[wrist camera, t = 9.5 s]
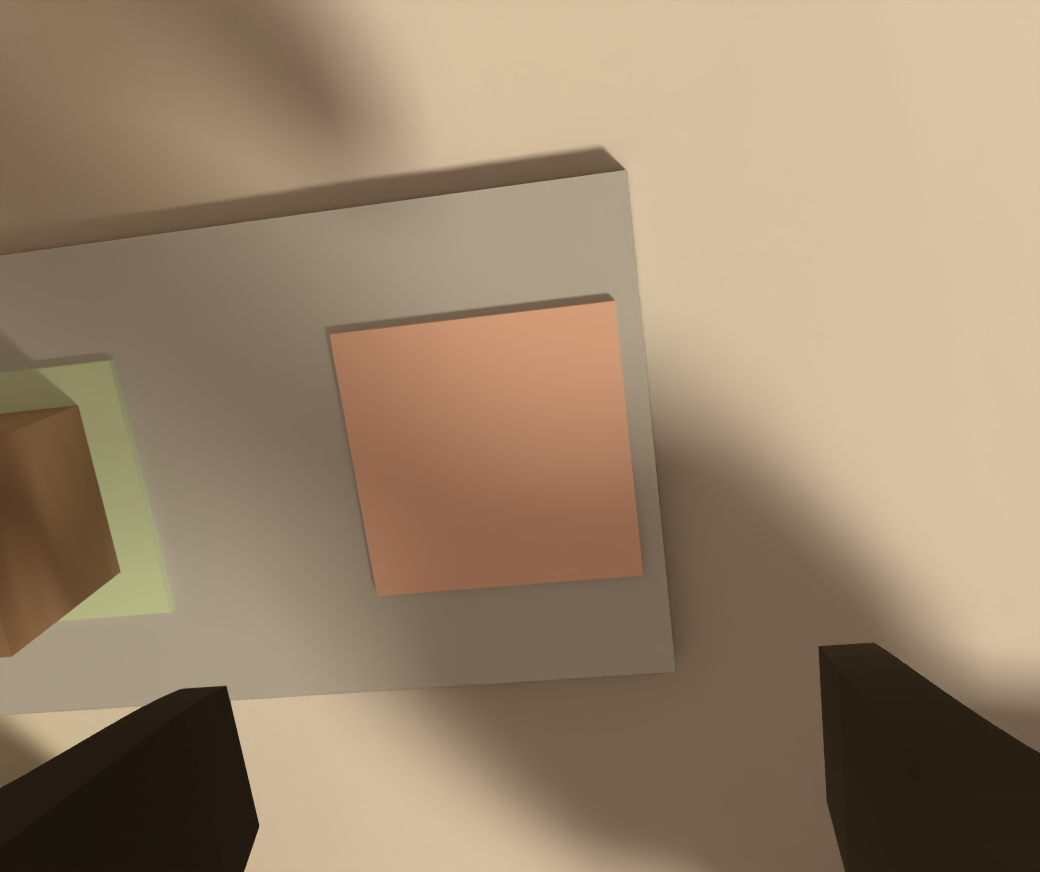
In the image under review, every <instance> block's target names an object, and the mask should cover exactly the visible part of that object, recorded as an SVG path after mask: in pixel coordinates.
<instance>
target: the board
mask: <svg viewBox="0 0 1040 872" xmlns="http://www.w3.org/2000/svg"><path fill="white" fill-rule="evenodd" d="M75 405H78V406H79V410H80V414H81V418H82V422H83V426H84V430H85V434H86V438H87V442H88V446H89V449H90V453H91V457H92V461H93V465H94V469H95V473H96V477H97V481H98V485H99V489H100V493H101V497H102V500H103V504H104V508H105V512H106V516H107V520H108V524H109V528H110V532H111V536H112V540H113V544H114V547H115V551H116V555H117V559H118V563H119V567H120V571H121V572H120V573H119V574H118V575H116V576H115V577H114V578H113V579H111V580H110V581H109V582H107V583H106V584H105V585H103V586H102V587H101V588H100V589H98V590H97V591H96V592H94V593H93V594H92V595H91V596H89V597H88V598H87V599H85V600H84V601H83V602H82V603H80V604H79V605H78V606H76V607H75V608H74V609H73V610H71V611H70V612H69V613H67V614H66V615H65V616H64V617H62V618H61V619H60V620H58V621H57V622H56V623H55V624H53V625H52V626H51V627H49V628H48V629H47V630H46V631H44V632H43V633H42V634H40V635H39V636H38V637H37V638H35V639H34V640H33V641H31V642H30V643H29V644H28V645H26V646H25V647H24V648H22V649H21V650H20V651H19V652H17V653H16V654H15V655H13V656H12V657H4V658H0V715H13V714H29V713H45V712H60V711H76V710H91V709H107V708H123V707H138V706H145V705H147V704H149V703H151V702H153V701H155V700H157V699H159V698H161V697H163V696H165V695H167V694H170V693H172V692H174V691H177V690H179V689H183V688H198V687H213V686H227V690H228V694H229V698H230V701H232V700H248V699H263V698H279V697H295V696H310V695H326V694H341V693H357V692H373V691H388V690H404V689H420V688H435V687H451V686H466V685H482V684H498V683H513V682H529V681H545V680H560V679H576V678H591V677H607V676H623V675H638V674H654V673H670V672H676V668H675V658H674V648H673V637H672V627H671V617H670V606H669V596H668V586H667V576H666V565H665V555H664V545H663V534H662V524H661V514H660V503H659V493H658V483H657V473H656V462H655V452H654V442H653V431H652V421H651V411H650V401H649V390H648V380H647V370H646V359H645V349H644V339H643V328H642V318H641V308H640V298H639V287H638V277H637V267H636V256H635V246H634V236H633V225H632V215H631V205H630V195H629V184H628V174H627V170H622V171H615V172H607V173H600V174H593V175H585V176H578V177H571V178H563V179H556V180H549V181H541V182H534V183H527V184H519V185H512V186H505V187H498V188H490V189H483V190H476V191H468V192H461V193H454V194H446V195H439V196H432V197H424V198H417V199H410V200H402V201H395V202H388V203H380V204H373V205H366V206H358V207H351V208H344V209H336V210H329V211H322V212H314V213H307V214H300V215H293V216H285V217H278V218H271V219H263V220H256V221H249V222H241V223H234V224H227V225H219V226H212V227H205V228H197V229H190V230H183V231H175V232H168V233H161V234H153V235H146V236H139V237H131V238H124V239H117V240H109V241H102V242H95V243H88V244H80V245H73V246H66V247H58V248H51V249H44V250H36V251H29V252H22V253H14V254H7V255H0V414H2V413H12V412H21V411H30V410H39V409H48V408H57V407H66V406H75Z"/></svg>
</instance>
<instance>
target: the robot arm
mask: <svg viewBox="0 0 1040 872" xmlns="http://www.w3.org/2000/svg"><path fill="white" fill-rule="evenodd" d="M819 664H820V683H821V702H822V720H823V739H824V757H825V776H826V795H827V803H828V807H829V811H830V815H831V819H832V823H833V827H834V831H835V835H836V839H837V842H838V846H839V850H840V854H841V857H842V861H843V865H844V868H845V872H1040V753H1039V752H1037V751H1035V750H1033V749H1032V748H1030V747H1028V746H1027V745H1025V744H1023V743H1022V742H1020V741H1019V740H1017V739H1015V738H1014V737H1012V736H1011V735H1009V734H1007V733H1006V732H1004V731H1003V730H1001V729H999V728H998V727H996V726H995V725H993V724H992V723H990V722H989V721H987V720H986V719H984V718H983V717H981V716H980V715H978V714H977V713H975V712H974V711H972V710H971V709H969V708H968V707H966V706H965V705H963V704H962V703H960V702H959V701H957V700H956V699H954V698H953V697H951V696H950V695H949V694H947V693H946V692H944V691H943V690H941V689H940V688H938V687H937V686H936V685H934V684H933V683H931V682H930V681H929V680H927V679H926V678H924V677H923V676H921V675H920V674H919V673H917V672H916V671H914V670H913V669H912V668H910V667H909V666H907V665H906V664H905V663H903V662H902V661H900V660H899V659H898V658H896V657H895V656H893V655H892V654H890V653H889V652H887V651H886V650H884V649H883V648H881V647H880V646H878V645H877V644H875V643H862V644H847V645H832V646H819ZM258 829H259V822H258V818H257V814H256V809H255V805H254V801H253V797H252V792H251V788H250V784H249V780H248V775H247V771H246V767H245V762H244V758H243V754H242V750H241V745H240V741H239V737H238V732H237V728H236V724H235V720H234V715H233V711H232V707H231V702H230V698H229V694H228V690H227V686H213V687H198V688H183V689H179V690H177V691H174V692H172V693H170V694H167V695H165V696H163V697H161V698H159V699H157V700H155V701H153V702H151V703H149V704H147V705H145V706H143V707H141V708H140V709H138V710H136V711H134V712H132V713H130V714H129V715H127V716H125V717H123V718H122V719H120V720H118V721H116V722H115V723H113V724H111V725H109V726H108V727H106V728H104V729H102V730H101V731H99V732H97V733H96V734H94V735H92V736H90V737H89V738H87V739H85V740H84V741H82V742H80V743H78V744H77V745H75V746H73V747H72V748H70V749H68V750H66V751H65V752H63V753H61V754H60V755H58V756H56V757H54V758H53V759H51V760H49V761H48V762H46V763H44V764H43V765H41V766H39V767H37V768H36V769H34V770H32V771H30V772H29V773H27V774H25V775H24V776H22V777H20V778H18V779H16V780H14V781H13V782H11V783H9V784H7V785H5V786H3V787H2V788H0V872H244V870H245V867H246V864H247V861H248V858H249V855H250V852H251V849H252V846H253V844H254V841H255V838H256V835H257V832H258Z"/></svg>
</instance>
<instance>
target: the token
mask: <svg viewBox="0 0 1040 872" xmlns="http://www.w3.org/2000/svg"><path fill="white" fill-rule="evenodd" d="M120 572H121V571H120V567H119V563H118V559H117V555H116V551H115V547H114V544H113V540H112V536H111V532H110V528H109V524H108V520H107V516H106V512H105V508H104V504H103V500H102V497H101V493H100V489H99V485H98V481H97V477H96V473H95V469H94V465H93V461H92V457H91V453H90V449H89V446H88V442H87V438H86V434H85V430H84V426H83V422H82V418H81V414H80V410H79V406H78V405H75V406H66V407H57V408H48V409H39V410H30V411H21V412H12V413H2V414H0V658H4V657H12V656H13V655H15V654H16V653H17V652H19V651H20V650H21V649H22V648H24V647H25V646H26V645H28V644H29V643H30V642H31V641H33V640H34V639H35V638H37V637H38V636H39V635H40V634H42V633H43V632H44V631H46V630H47V629H48V628H49V627H51V626H52V625H53V624H55V623H56V622H57V621H58V620H60V619H61V618H62V617H64V616H65V615H66V614H67V613H69V612H70V611H71V610H73V609H74V608H75V607H76V606H78V605H79V604H80V603H82V602H83V601H84V600H85V599H87V598H88V597H89V596H91V595H92V594H93V593H94V592H96V591H97V590H98V589H100V588H101V587H102V586H103V585H105V584H106V583H107V582H109V581H110V580H111V579H113V578H114V577H115V576H116V575H118V574H119V573H120Z"/></svg>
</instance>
